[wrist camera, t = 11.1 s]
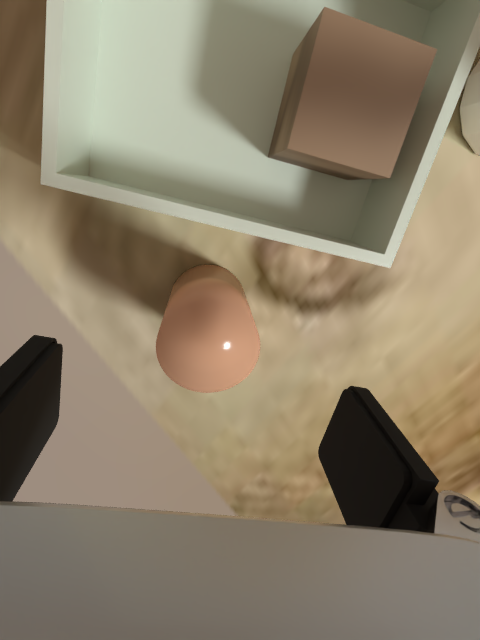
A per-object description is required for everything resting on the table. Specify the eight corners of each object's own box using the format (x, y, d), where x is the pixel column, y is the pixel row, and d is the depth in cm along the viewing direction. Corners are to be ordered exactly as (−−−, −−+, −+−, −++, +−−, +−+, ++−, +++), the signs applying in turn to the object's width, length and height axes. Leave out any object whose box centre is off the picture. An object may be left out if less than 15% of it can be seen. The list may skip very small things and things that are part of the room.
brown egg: (236, 339, 24) (248, 397, 17) (166, 329, 23) (150, 386, 17) (251, 271, 22) (270, 309, 16) (175, 258, 21) (162, 291, 15)
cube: (347, 179, 20) (389, 178, 15) (267, 157, 19) (287, 148, 15) (378, 83, 18) (437, 49, 14) (293, 54, 17) (324, 6, 13)
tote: (352, 251, 22) (390, 268, 18) (80, 184, 19) (40, 184, 15) (439, 7, 18) (521, -56, 13) (102, -129, 15) (55, -272, 10)
